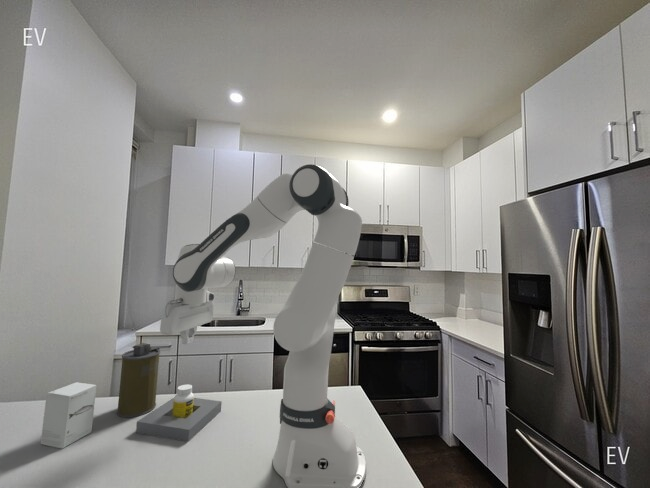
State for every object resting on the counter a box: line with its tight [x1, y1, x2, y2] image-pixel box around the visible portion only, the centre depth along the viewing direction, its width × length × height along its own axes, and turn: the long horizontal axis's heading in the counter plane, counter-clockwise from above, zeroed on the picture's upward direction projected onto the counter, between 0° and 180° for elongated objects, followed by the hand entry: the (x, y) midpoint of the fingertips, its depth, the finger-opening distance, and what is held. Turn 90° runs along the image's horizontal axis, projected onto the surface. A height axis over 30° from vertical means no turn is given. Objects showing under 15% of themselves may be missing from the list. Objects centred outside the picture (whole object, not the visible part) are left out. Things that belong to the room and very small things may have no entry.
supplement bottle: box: [172, 383, 195, 419], centre depth 84 cm, size 5×5×10 cm
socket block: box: [135, 397, 222, 442], centre depth 83 cm, size 16×16×4 cm
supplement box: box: [40, 381, 97, 449], centre depth 74 cm, size 7×7×13 cm
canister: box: [116, 342, 161, 418], centre depth 90 cm, size 11×10×20 cm
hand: (187, 343), depth 85 cm, fingers closed
